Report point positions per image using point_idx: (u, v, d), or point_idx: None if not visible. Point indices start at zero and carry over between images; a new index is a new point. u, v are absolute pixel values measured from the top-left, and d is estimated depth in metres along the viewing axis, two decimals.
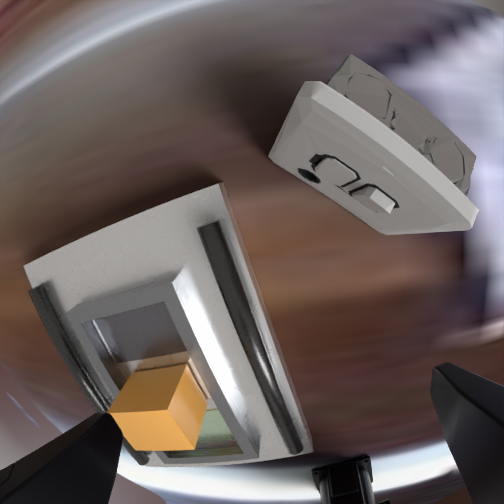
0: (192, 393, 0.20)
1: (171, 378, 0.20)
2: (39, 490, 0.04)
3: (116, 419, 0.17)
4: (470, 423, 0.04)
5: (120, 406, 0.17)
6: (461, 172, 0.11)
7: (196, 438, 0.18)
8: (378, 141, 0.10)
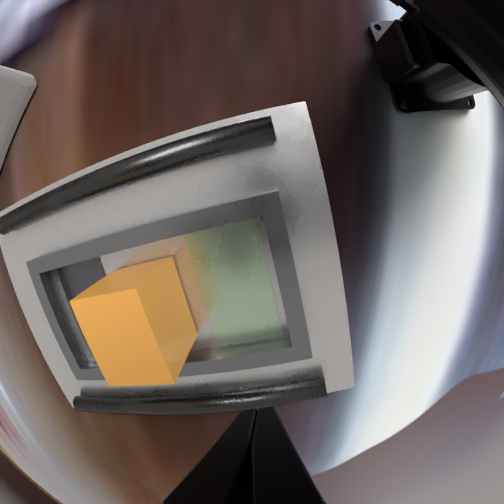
0: (129, 271, 0.16)
1: None
2: None
3: (114, 378, 0.14)
4: None
5: None
6: None
7: (141, 281, 0.13)
8: None
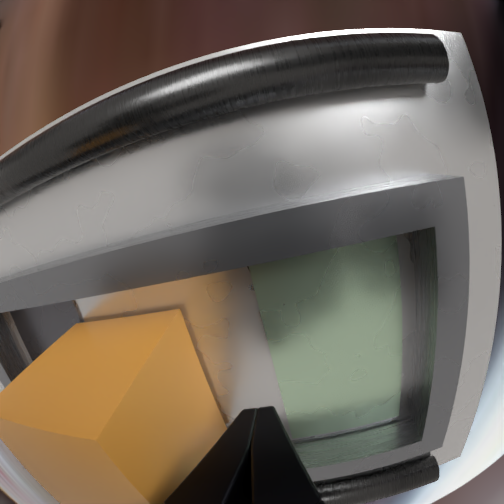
0: (94, 339, 0.07)
1: None
2: None
3: None
4: None
5: None
6: None
7: (110, 404, 0.04)
8: None
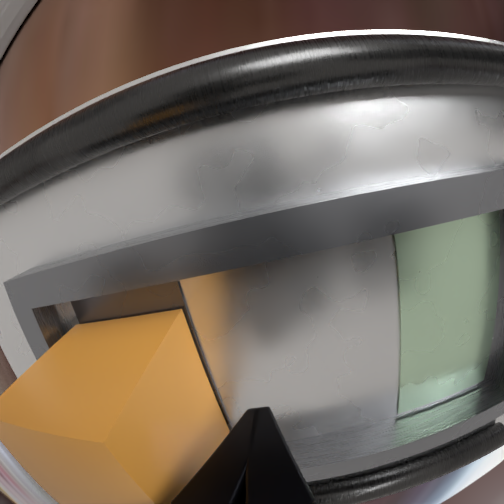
0: (96, 340, 0.07)
1: None
2: None
3: None
4: None
5: None
6: None
7: (116, 405, 0.04)
8: None
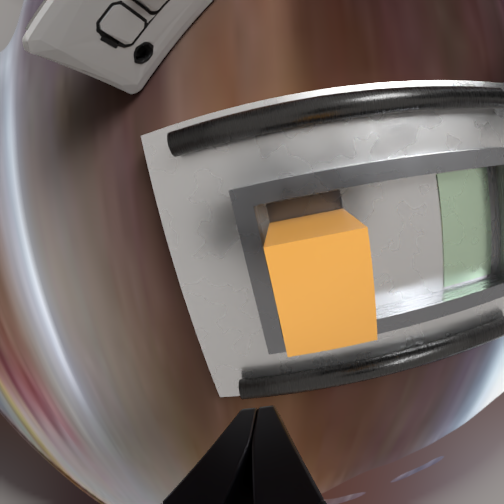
0: (303, 220, 0.15)
1: None
2: None
3: (300, 345, 0.13)
4: None
5: None
6: None
7: (357, 223, 0.12)
8: None
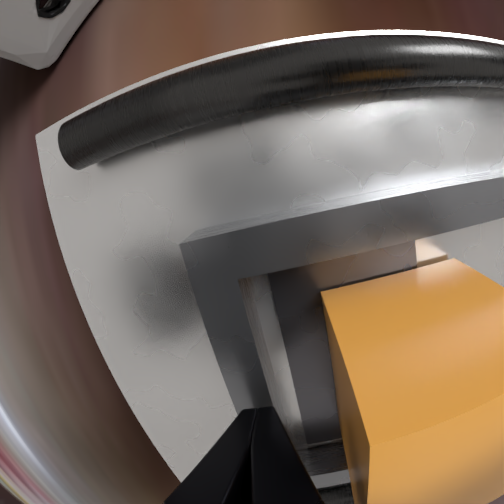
0: (404, 296, 0.06)
1: (334, 350, 0.06)
2: None
3: None
4: None
5: None
6: None
7: None
8: None
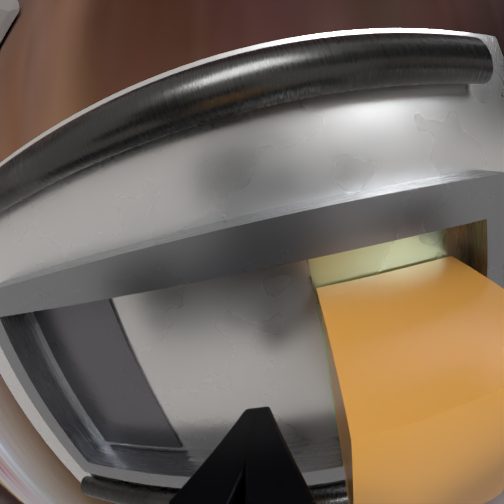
0: (398, 293, 0.06)
1: (328, 346, 0.06)
2: None
3: None
4: None
5: None
6: None
7: None
8: None
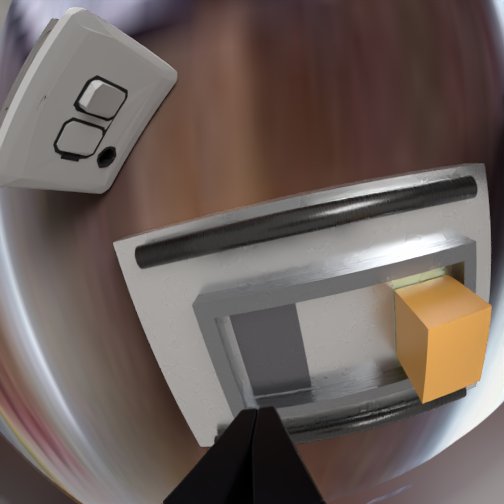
0: (428, 291, 0.15)
1: (403, 312, 0.16)
2: None
3: (433, 393, 0.13)
4: None
5: (419, 384, 0.14)
6: None
7: (480, 299, 0.13)
8: (10, 121, 0.09)
